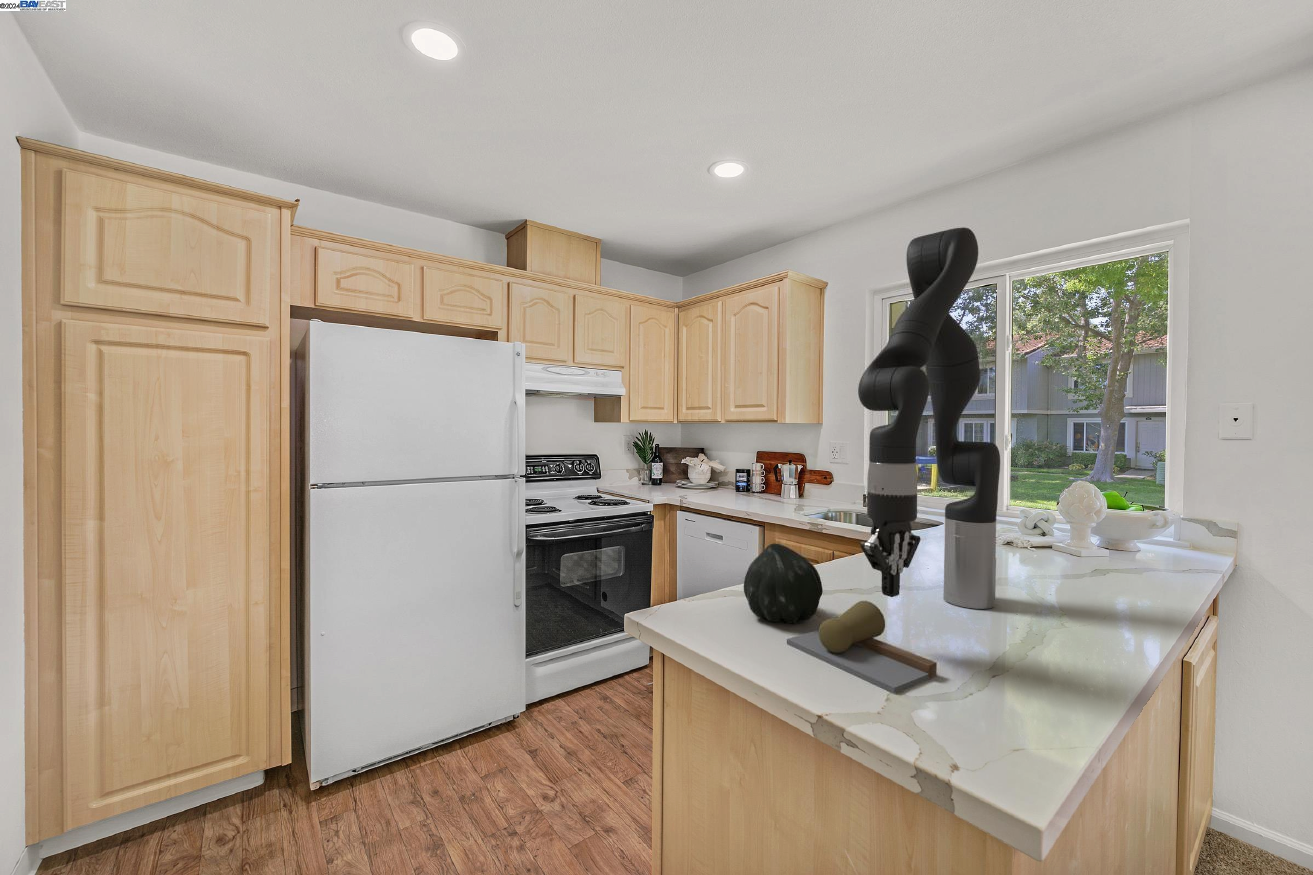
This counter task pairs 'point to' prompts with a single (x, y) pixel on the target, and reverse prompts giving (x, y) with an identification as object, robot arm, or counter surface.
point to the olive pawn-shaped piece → (852, 627)
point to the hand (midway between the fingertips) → (890, 594)
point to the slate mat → (862, 663)
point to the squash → (782, 585)
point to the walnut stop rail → (900, 656)
